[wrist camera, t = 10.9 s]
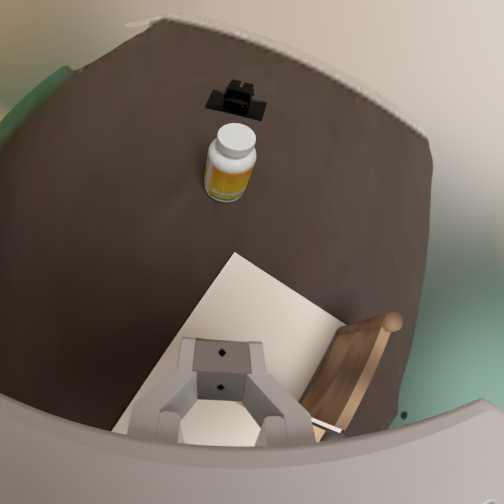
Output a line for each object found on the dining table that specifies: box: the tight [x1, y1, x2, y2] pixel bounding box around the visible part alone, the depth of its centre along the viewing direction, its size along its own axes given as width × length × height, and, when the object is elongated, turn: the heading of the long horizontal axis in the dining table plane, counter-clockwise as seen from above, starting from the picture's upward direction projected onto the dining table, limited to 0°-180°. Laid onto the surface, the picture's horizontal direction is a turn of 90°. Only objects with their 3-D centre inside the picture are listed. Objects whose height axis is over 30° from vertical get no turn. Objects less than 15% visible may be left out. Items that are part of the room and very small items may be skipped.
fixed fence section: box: [300, 311, 403, 442], centre depth 25 cm, size 14×2×10 cm, turn 148°
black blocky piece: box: [205, 79, 267, 121], centre depth 41 cm, size 12×7×5 cm, turn 80°
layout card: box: [111, 252, 346, 446], centre depth 27 cm, size 26×22×1 cm
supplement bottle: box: [204, 123, 256, 202], centre depth 32 cm, size 5×5×10 cm
